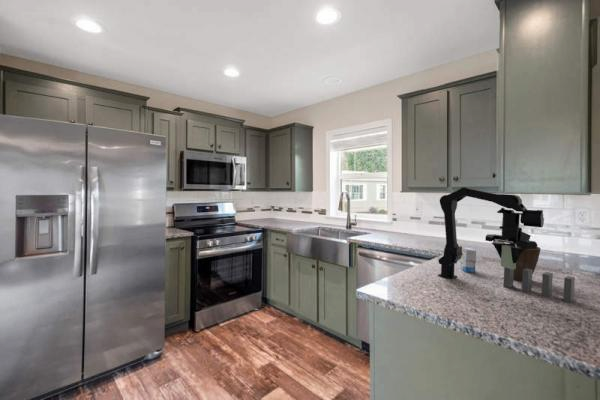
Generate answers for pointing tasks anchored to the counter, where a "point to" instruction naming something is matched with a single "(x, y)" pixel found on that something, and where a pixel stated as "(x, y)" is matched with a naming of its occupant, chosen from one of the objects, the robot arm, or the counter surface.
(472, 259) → the ink box
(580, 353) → the counter surface
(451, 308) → the counter surface
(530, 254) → the plant pot
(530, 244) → the robot arm
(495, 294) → the counter surface
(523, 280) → the domino
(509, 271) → the domino
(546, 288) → the domino
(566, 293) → the domino end
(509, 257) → the sage domino
